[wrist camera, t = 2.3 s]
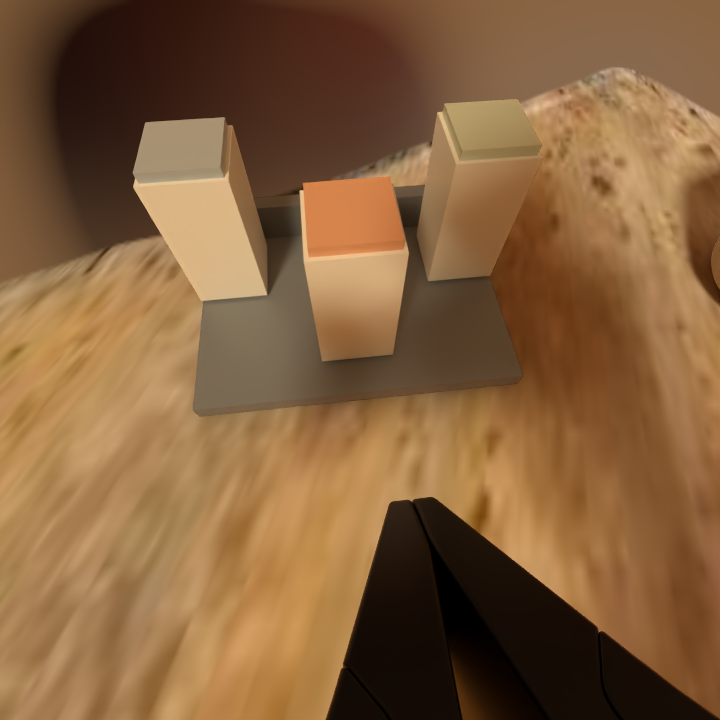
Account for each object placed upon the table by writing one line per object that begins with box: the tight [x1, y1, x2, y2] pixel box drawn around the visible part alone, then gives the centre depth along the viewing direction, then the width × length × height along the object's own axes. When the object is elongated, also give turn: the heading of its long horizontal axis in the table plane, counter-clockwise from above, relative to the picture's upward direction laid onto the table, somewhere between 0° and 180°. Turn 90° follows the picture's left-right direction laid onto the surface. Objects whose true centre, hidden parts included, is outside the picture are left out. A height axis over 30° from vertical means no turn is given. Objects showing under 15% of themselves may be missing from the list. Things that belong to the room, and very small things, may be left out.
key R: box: [300, 177, 409, 362], centre depth 19 cm, size 4×4×8 cm
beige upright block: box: [417, 99, 543, 281], centre depth 22 cm, size 4×4×8 cm
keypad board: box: [193, 185, 523, 416], centre depth 23 cm, size 13×18×4 cm
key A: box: [133, 117, 267, 301], centre depth 21 cm, size 4×4×8 cm
